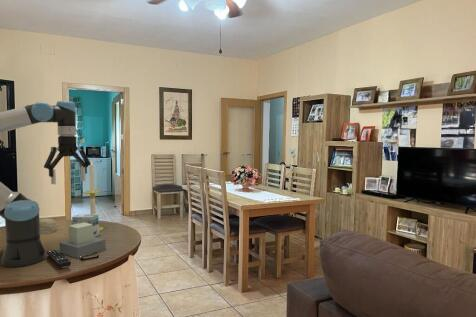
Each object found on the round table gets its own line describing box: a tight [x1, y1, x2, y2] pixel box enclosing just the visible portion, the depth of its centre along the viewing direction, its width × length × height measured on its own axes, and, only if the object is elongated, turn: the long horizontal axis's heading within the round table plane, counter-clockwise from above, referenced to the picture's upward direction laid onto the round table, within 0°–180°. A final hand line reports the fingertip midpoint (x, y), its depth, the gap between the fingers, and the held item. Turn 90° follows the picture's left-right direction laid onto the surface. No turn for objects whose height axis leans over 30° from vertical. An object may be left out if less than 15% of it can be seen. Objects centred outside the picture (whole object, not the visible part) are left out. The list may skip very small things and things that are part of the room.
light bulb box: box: [71, 213, 100, 238], centre depth 175 cm, size 11×7×11 cm, turn 84°
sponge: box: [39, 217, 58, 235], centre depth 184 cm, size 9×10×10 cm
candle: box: [83, 160, 104, 232], centre depth 186 cm, size 10×10×38 cm
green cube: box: [68, 222, 93, 245], centre depth 151 cm, size 7×7×7 cm
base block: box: [59, 236, 106, 260], centre depth 152 cm, size 13×13×5 cm
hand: (68, 182), depth 160 cm, fingers open, 13 cm apart
